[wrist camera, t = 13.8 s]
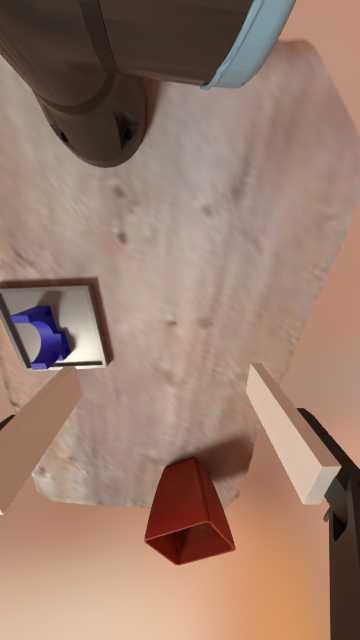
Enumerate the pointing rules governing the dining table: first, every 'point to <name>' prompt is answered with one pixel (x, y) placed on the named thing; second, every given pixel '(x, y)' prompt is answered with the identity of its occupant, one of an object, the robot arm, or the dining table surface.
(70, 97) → the robot arm
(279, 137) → the dining table surface
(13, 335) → the tray
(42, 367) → the cable clip
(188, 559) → the plant pot
